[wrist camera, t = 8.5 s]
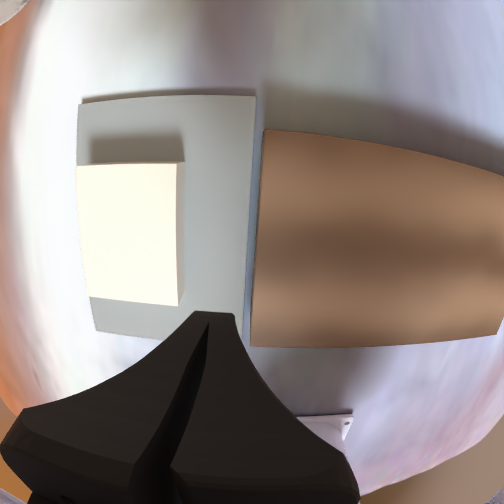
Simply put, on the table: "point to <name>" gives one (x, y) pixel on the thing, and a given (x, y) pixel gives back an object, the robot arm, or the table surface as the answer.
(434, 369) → the table surface
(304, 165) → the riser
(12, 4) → the grey cylinder
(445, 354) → the table surface
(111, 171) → the tile
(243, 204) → the mat
